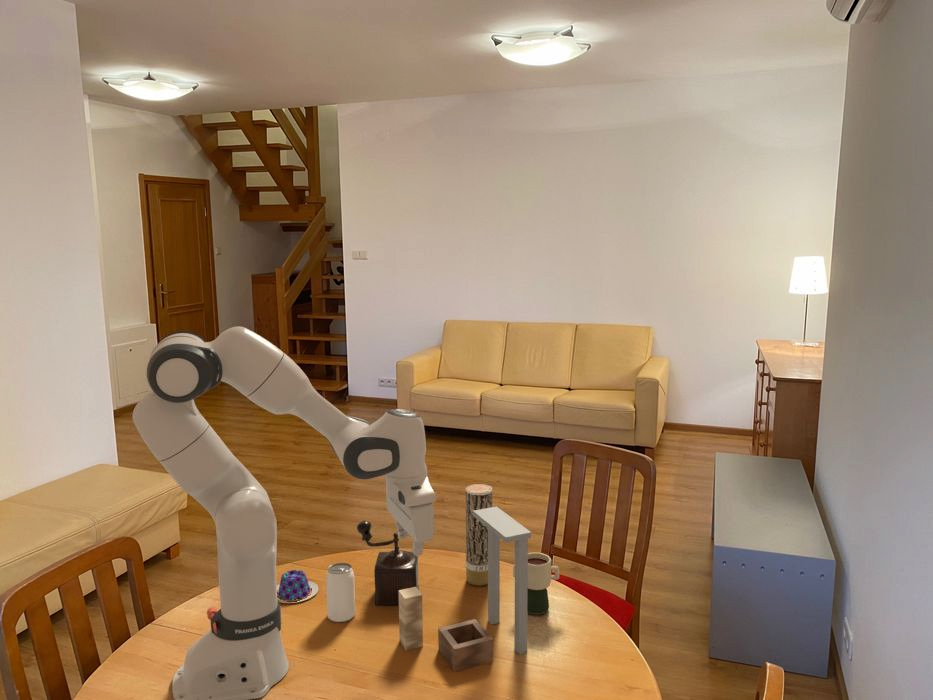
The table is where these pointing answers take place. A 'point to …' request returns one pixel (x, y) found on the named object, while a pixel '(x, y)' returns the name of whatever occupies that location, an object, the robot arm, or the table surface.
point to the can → (340, 592)
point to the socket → (465, 645)
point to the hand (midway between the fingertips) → (410, 545)
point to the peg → (410, 618)
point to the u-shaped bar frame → (508, 532)
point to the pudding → (295, 586)
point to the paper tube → (477, 534)
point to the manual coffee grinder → (391, 569)
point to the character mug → (539, 582)
